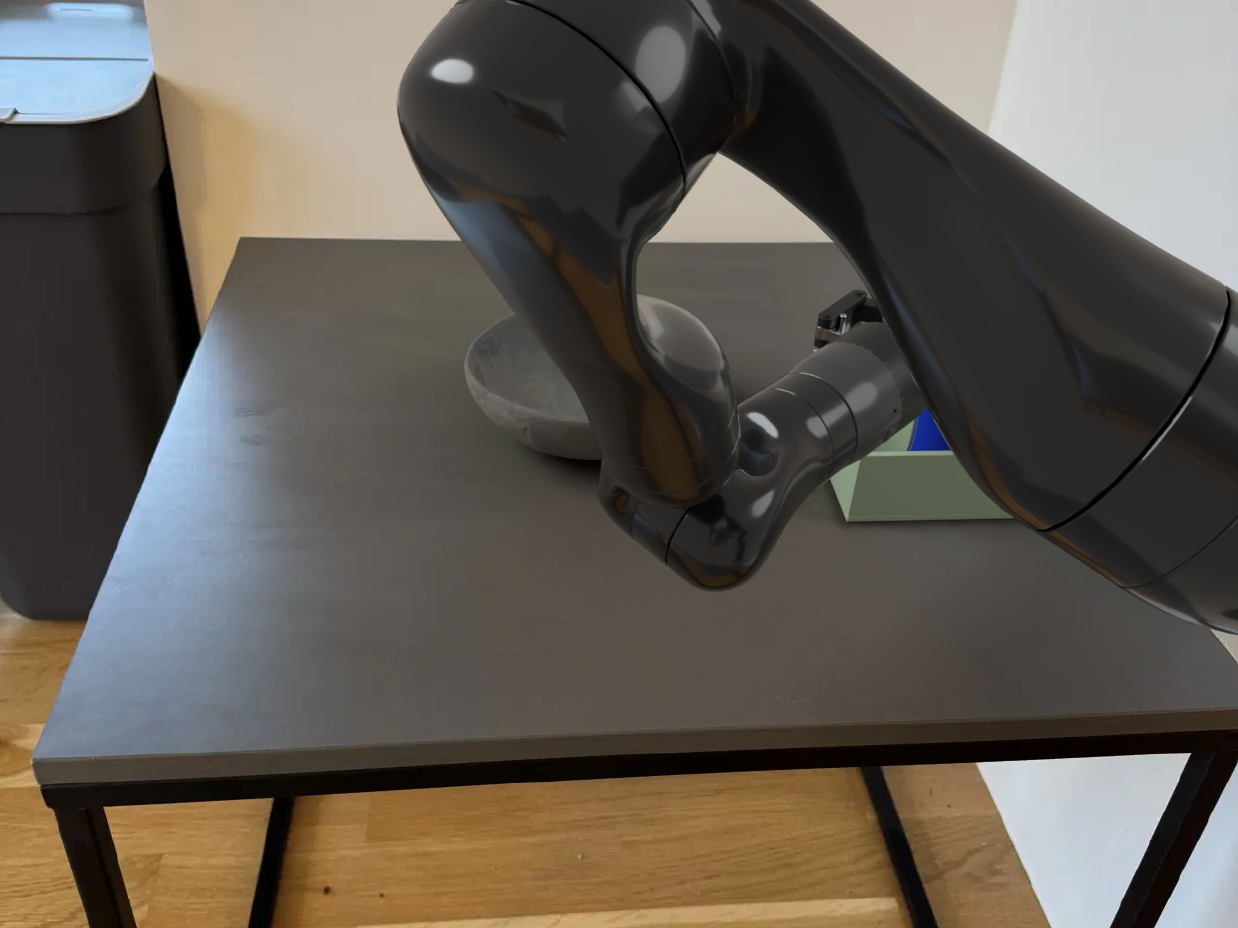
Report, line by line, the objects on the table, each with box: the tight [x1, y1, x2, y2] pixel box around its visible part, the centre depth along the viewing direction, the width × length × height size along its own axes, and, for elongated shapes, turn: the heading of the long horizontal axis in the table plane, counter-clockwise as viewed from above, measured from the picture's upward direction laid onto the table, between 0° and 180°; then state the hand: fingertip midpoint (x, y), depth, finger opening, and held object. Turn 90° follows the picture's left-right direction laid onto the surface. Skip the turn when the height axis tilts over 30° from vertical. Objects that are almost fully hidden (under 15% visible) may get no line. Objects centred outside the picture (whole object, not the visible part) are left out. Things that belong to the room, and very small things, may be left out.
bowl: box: [463, 312, 603, 461], centre depth 96 cm, size 21×21×8 cm
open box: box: [812, 349, 1014, 523], centre depth 95 cm, size 16×16×7 cm
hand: (967, 316), depth 83 cm, fingers open, 8 cm apart
